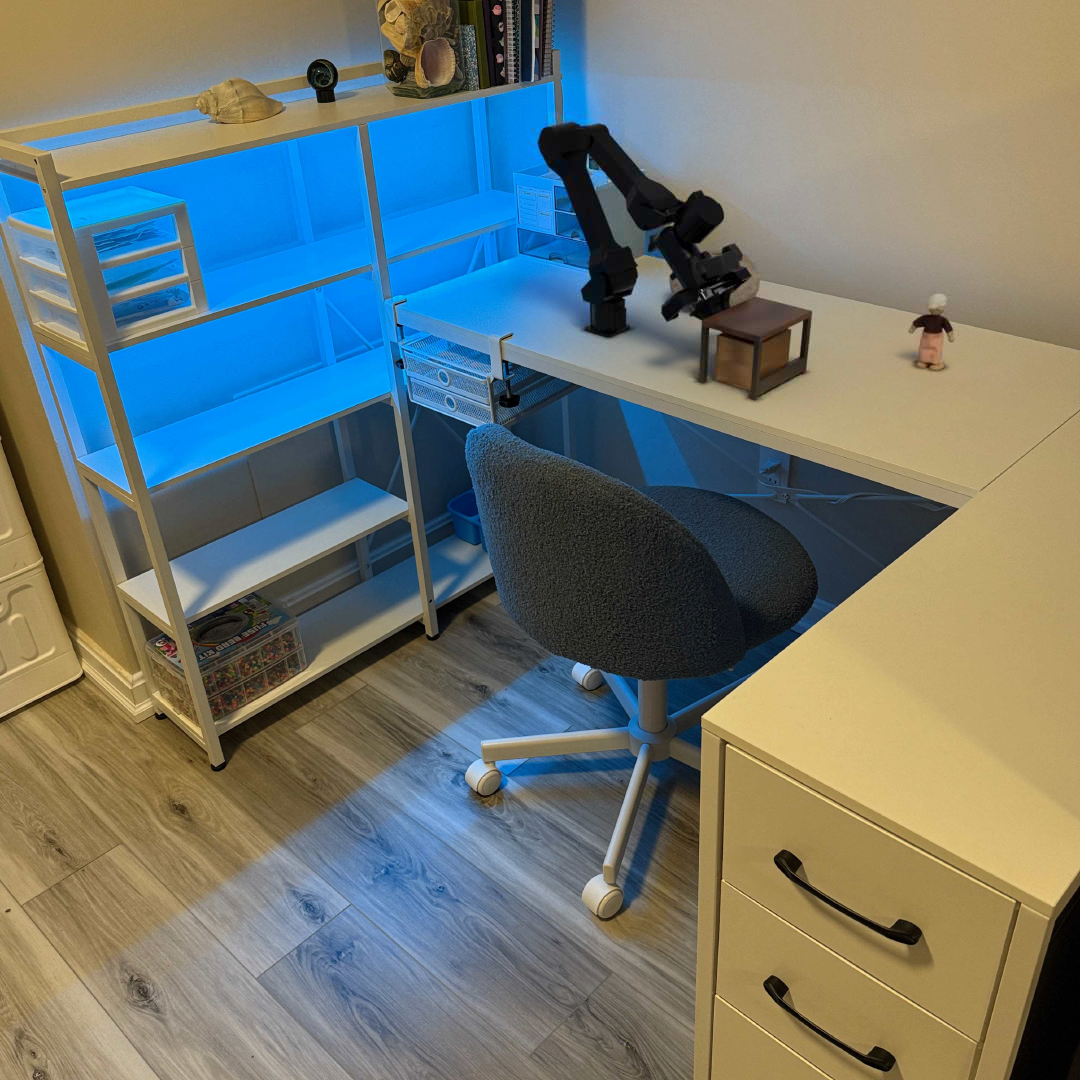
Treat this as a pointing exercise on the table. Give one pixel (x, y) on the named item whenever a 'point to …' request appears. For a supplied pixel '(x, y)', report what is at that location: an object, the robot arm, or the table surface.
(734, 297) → the grey rounded stone
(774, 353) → the wooden box
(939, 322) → the grandmother figurine
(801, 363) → the desk shelf
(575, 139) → the robot arm
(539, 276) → the table surface
